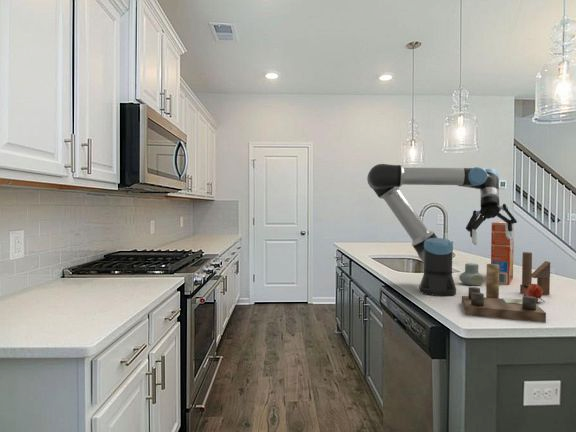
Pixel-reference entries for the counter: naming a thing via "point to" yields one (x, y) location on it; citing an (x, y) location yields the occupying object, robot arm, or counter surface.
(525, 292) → the pomegranate
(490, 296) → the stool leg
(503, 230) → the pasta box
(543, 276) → the brown wooden angled piece
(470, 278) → the air freshener
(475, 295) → the wooden board with knobs
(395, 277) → the counter surface
